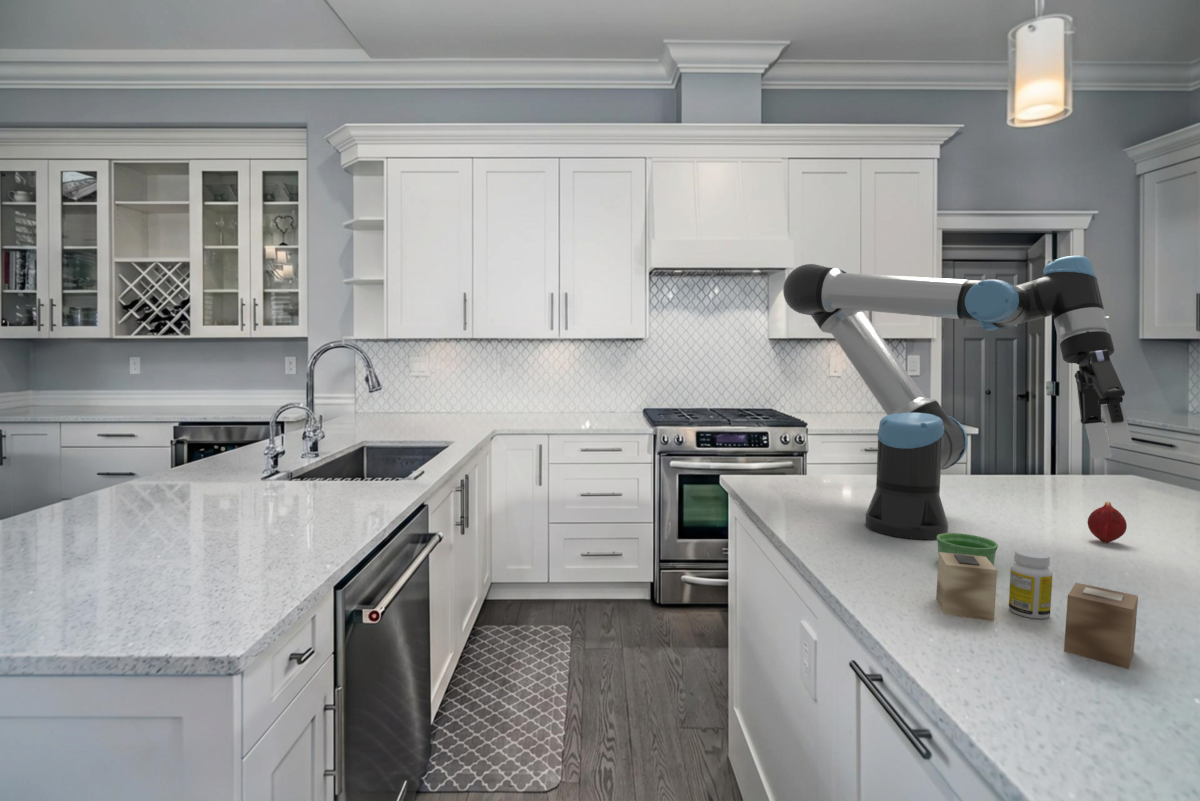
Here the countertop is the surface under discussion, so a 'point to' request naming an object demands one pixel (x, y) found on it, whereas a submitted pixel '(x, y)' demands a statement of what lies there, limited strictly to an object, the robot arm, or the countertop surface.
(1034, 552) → the supplement bottle
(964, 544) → the ramekin
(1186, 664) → the countertop surface
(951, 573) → the maple block
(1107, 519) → the onion
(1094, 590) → the walnut block
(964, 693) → the countertop surface
